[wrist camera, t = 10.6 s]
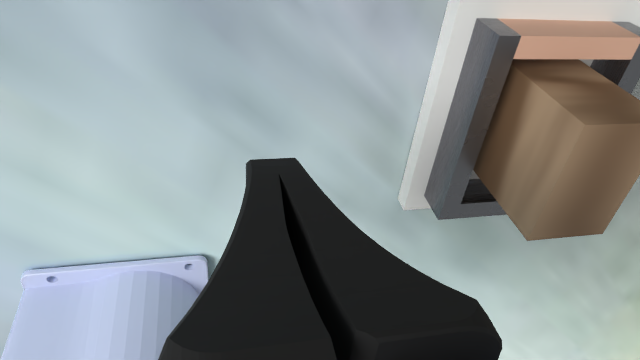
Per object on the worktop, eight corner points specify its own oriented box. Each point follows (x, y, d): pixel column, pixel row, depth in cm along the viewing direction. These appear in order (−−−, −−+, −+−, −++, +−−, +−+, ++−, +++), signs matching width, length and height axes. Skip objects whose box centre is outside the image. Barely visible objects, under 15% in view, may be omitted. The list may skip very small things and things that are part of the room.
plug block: (467, 162, 26) (527, 240, 21) (503, 57, 22) (585, 125, 18) (531, 159, 27) (602, 233, 22) (577, 58, 23) (672, 122, 19)
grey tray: (397, 199, 28) (416, 234, 26) (452, -14, 21) (484, 9, 18) (546, 189, 30) (575, 221, 28) (641, -6, 23) (692, 16, 21)
